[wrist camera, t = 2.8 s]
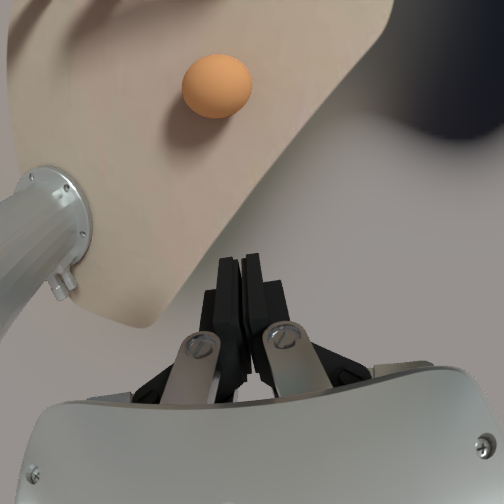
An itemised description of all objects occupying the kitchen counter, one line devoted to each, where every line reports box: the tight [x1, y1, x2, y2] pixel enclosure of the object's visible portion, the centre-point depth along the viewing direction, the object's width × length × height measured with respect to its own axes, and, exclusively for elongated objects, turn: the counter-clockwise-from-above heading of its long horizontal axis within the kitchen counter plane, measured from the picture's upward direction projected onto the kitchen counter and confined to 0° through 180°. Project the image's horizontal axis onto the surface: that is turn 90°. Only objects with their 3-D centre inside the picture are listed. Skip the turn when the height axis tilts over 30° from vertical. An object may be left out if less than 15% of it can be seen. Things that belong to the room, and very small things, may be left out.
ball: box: [182, 55, 252, 118], centre depth 18 cm, size 6×6×6 cm
